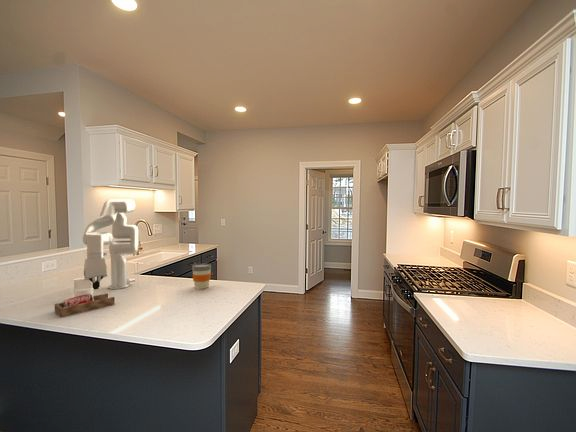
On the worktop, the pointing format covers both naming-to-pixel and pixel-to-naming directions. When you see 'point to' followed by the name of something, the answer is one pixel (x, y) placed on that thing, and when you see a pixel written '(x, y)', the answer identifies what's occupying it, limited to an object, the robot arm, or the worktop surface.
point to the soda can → (78, 300)
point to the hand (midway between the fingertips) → (96, 288)
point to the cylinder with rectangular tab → (82, 287)
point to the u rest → (85, 305)
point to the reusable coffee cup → (201, 275)
